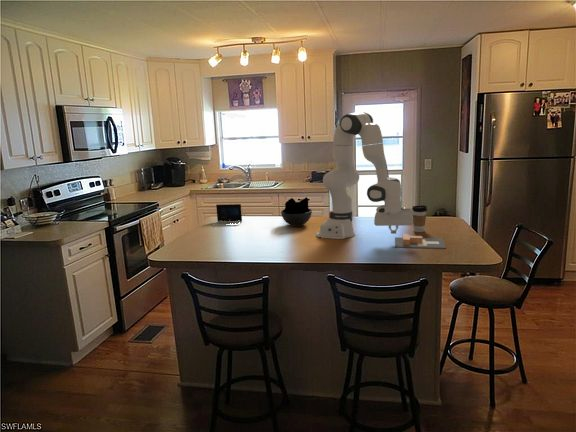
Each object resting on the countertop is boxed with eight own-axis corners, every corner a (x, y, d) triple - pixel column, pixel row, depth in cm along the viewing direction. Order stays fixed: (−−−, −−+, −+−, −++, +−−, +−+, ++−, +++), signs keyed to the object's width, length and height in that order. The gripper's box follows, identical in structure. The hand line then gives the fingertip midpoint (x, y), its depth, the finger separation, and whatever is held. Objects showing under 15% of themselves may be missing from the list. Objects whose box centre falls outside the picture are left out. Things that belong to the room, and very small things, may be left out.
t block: (403, 244, 223) (403, 239, 222) (402, 239, 233) (402, 233, 232) (422, 245, 220) (423, 239, 220) (421, 239, 231) (421, 234, 230)
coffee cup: (427, 232, 245) (427, 207, 242) (412, 232, 247) (412, 207, 244) (425, 229, 253) (426, 204, 250) (411, 229, 255) (411, 204, 252)
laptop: (211, 226, 287) (210, 208, 284) (217, 222, 299) (216, 204, 296) (237, 226, 284) (235, 207, 281) (242, 222, 296) (240, 204, 293)
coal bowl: (276, 228, 272) (275, 200, 267) (288, 221, 289) (287, 194, 285) (306, 230, 264) (305, 200, 260) (316, 223, 282) (315, 195, 278)
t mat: (395, 247, 220) (395, 246, 220) (394, 238, 237) (394, 237, 237) (446, 248, 215) (446, 247, 214) (441, 239, 232) (441, 238, 232)
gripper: (413, 206, 225) (413, 231, 228) (374, 207, 230) (374, 232, 233) (413, 208, 219) (413, 234, 222) (373, 209, 224) (374, 234, 227)
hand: (393, 233), depth 227 cm, fingers closed
